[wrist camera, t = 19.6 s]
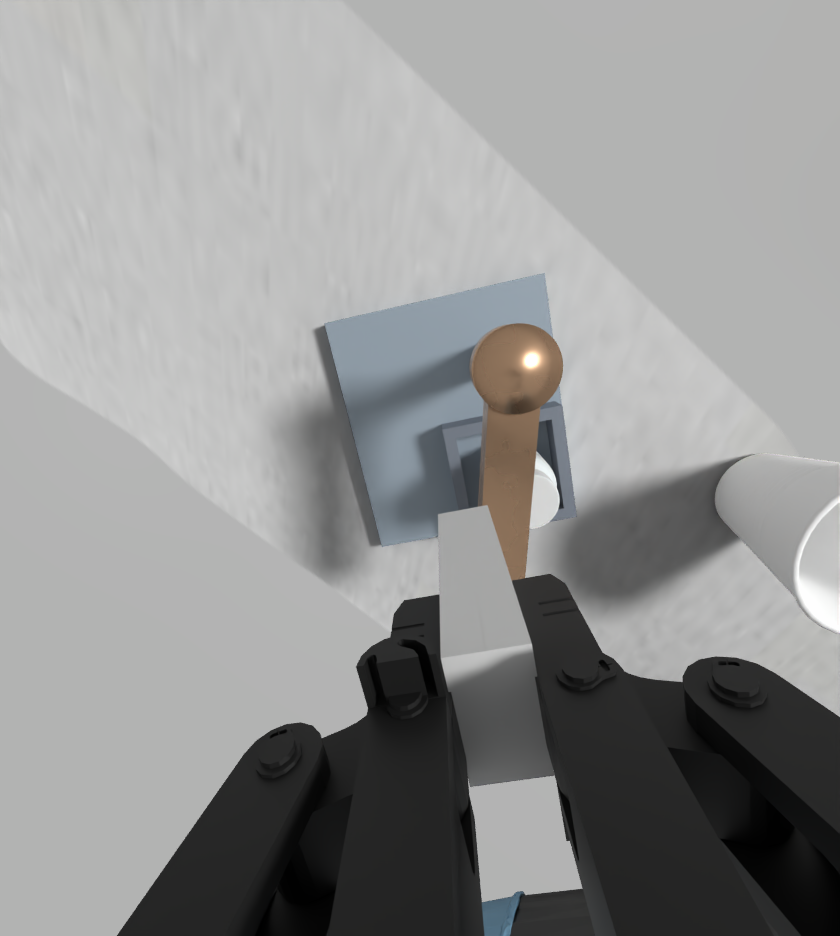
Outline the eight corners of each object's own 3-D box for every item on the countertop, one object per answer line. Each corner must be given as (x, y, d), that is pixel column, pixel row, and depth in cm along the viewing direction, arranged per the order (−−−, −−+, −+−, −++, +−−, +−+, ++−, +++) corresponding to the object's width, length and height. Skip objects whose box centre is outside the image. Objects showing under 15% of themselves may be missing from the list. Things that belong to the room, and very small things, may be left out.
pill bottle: (488, 501, 35) (503, 546, 28) (471, 447, 34) (482, 479, 26) (545, 484, 35) (576, 525, 27) (530, 428, 33) (558, 456, 26)
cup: (724, 573, 37) (840, 668, 27) (661, 479, 35) (759, 542, 25) (844, 502, 35) (1019, 575, 25) (785, 399, 33) (948, 430, 23)
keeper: (471, 323, 22) (475, 322, 20) (554, 325, 22) (567, 324, 20) (459, 582, 26) (461, 604, 24) (530, 584, 26) (538, 606, 24)
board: (571, 506, 36) (622, 569, 26) (383, 541, 37) (366, 613, 28) (541, 274, 31) (588, 249, 22) (327, 323, 33) (283, 320, 23)
